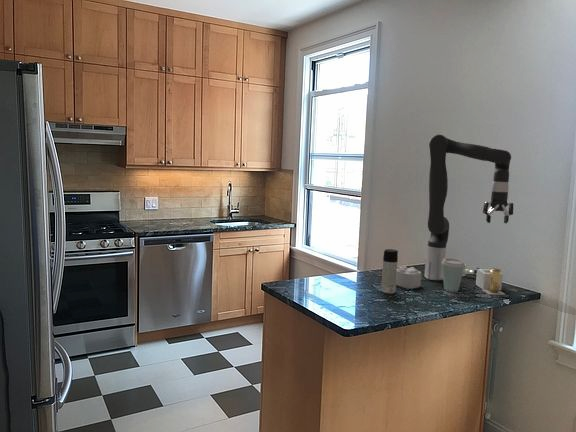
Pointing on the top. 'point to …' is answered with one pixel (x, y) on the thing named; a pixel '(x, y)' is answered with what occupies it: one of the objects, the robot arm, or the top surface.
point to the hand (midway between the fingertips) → (496, 222)
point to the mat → (494, 293)
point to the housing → (485, 279)
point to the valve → (469, 271)
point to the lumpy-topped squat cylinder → (408, 277)
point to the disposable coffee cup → (452, 273)
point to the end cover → (494, 280)
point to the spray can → (389, 271)
